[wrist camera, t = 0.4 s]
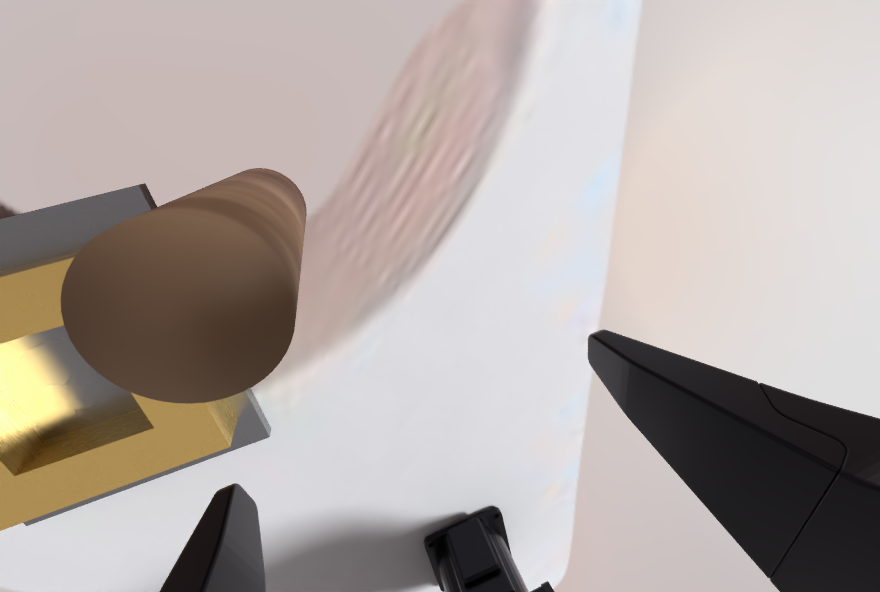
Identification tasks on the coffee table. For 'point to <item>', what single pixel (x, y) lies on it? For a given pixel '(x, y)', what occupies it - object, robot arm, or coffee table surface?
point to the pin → (192, 291)
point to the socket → (84, 382)
